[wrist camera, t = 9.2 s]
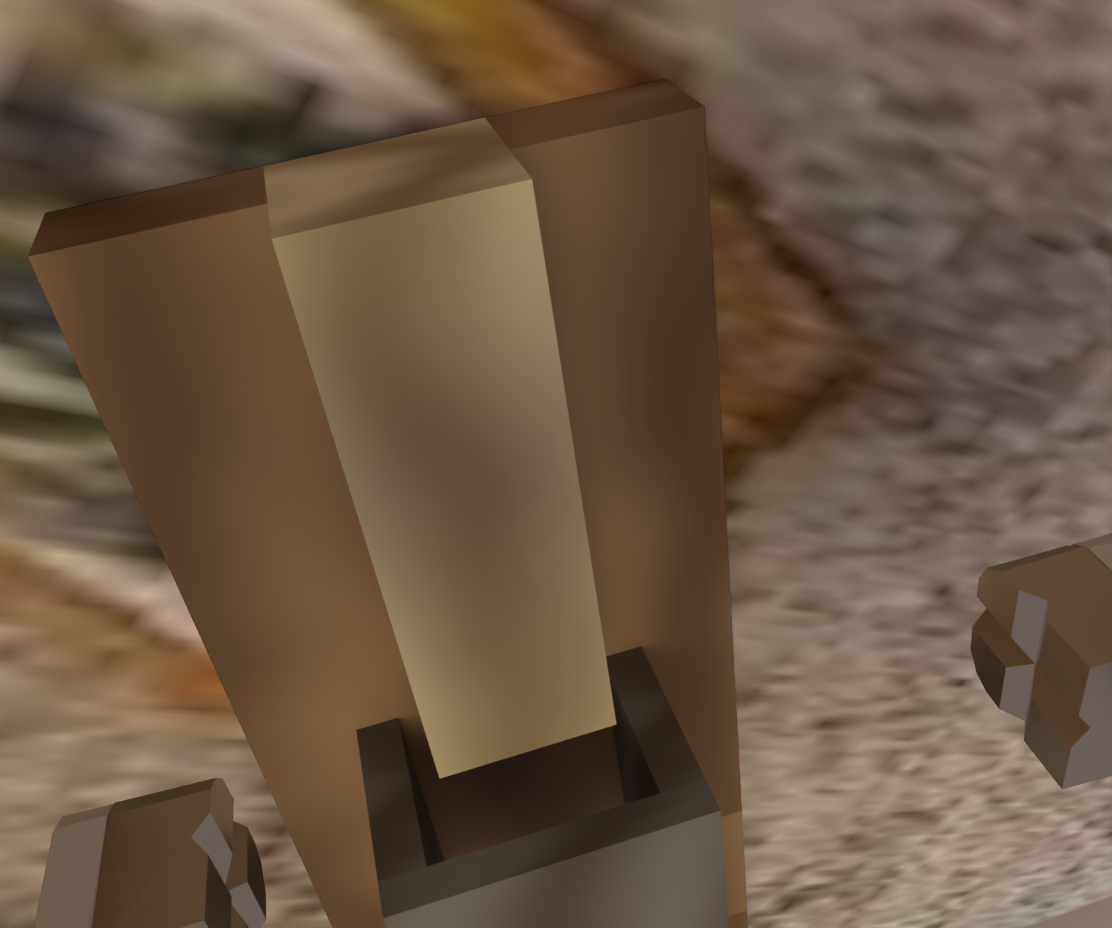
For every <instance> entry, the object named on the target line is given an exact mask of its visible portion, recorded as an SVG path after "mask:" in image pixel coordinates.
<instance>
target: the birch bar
mask: <svg viewBox="0 0 1112 928" xmlns="http://www.w3.org/2000/svg"><path fill="white" fill-rule="evenodd" d="M263 167H264V176H265V186H266V195H267V204H268V213H269V222H270V231H271V240H272V243H273V246H274V249H275V252H276V256H277V259H278V262H279V265H280V268H281V272H282V275H283V278H284V281H285V284H286V288H287V291H288V294H289V297H290V300H291V304H292V307H293V310H294V313H295V316H296V320H297V323H298V326H299V329H300V333H301V336H302V339H303V342H304V345H305V349H306V352H307V355H308V358H309V361H310V365H311V368H312V371H313V374H314V377H315V381H316V384H317V387H318V390H319V393H320V397H321V400H322V403H323V406H324V409H325V413H326V416H327V419H328V422H329V426H330V429H331V432H332V435H333V438H334V442H335V445H336V448H337V451H338V454H339V458H340V461H341V464H342V467H343V470H344V474H345V477H346V480H347V483H348V486H349V490H350V493H351V496H352V499H353V503H354V506H355V509H356V512H357V515H358V519H359V522H360V525H361V528H362V531H363V535H364V538H365V541H366V544H367V547H368V551H369V554H370V557H371V560H372V563H373V567H374V570H375V573H376V576H377V579H378V583H379V586H380V589H381V592H382V596H383V599H384V602H385V605H386V608H387V612H388V615H389V618H390V621H391V624H392V628H393V631H394V634H395V637H396V640H397V644H398V647H399V650H400V653H401V656H402V660H403V663H404V666H405V669H406V672H407V676H408V679H409V682H410V685H411V689H412V692H413V695H414V698H415V701H416V705H417V708H418V711H419V714H420V717H421V721H422V724H423V727H424V730H425V733H426V737H427V740H428V743H429V746H430V749H431V753H432V756H433V759H434V762H435V766H436V769H437V772H438V775H439V778H443V777H447V776H450V775H453V774H456V773H460V772H463V771H466V770H469V769H473V768H476V767H479V766H483V765H486V764H489V763H492V762H496V761H499V760H502V759H505V758H509V757H512V756H515V755H518V754H522V753H525V752H528V751H532V750H535V749H538V748H541V747H545V746H548V745H551V744H554V743H558V742H561V741H564V740H568V739H571V738H574V737H577V736H581V735H584V734H587V733H590V732H594V731H597V730H600V729H603V728H607V727H610V726H613V725H617V724H616V718H615V712H614V705H613V699H612V692H611V686H610V679H609V673H608V666H607V660H606V653H605V647H604V641H603V634H602V628H601V621H600V615H599V608H598V602H597V595H596V589H595V582H594V576H593V570H592V563H591V557H590V550H589V544H588V537H587V531H586V524H585V518H584V511H583V505H582V498H581V492H580V486H579V479H578V473H577V466H576V460H575V453H574V447H573V440H572V434H571V427H570V421H569V415H568V408H567V402H566V395H565V389H564V382H563V376H562V369H561V363H560V356H559V350H558V344H557V337H556V331H555V324H554V318H553V311H552V305H551V298H550V292H549V285H548V279H547V273H546V266H545V260H544V253H543V247H542V240H541V234H540V227H539V221H538V214H537V208H536V201H535V195H534V189H533V182H532V178H531V177H530V176H529V174H528V173H527V172H526V171H525V169H524V168H523V167H522V165H521V164H520V163H519V161H518V160H517V159H516V157H515V156H514V155H513V154H512V152H511V151H510V150H509V148H508V147H507V146H506V144H505V143H504V142H503V141H502V139H501V138H500V137H499V135H498V134H497V133H496V131H495V130H494V129H493V128H492V126H491V125H490V124H489V122H488V121H487V120H486V118H480V119H476V120H471V121H467V122H462V123H458V124H453V125H449V126H444V127H440V128H435V129H430V130H426V131H421V132H417V133H412V134H408V135H403V136H399V137H394V138H390V139H385V140H380V141H376V142H371V143H367V144H362V145H358V146H353V147H349V148H344V149H340V150H335V151H330V152H326V153H321V154H317V155H312V156H308V157H303V158H299V159H294V160H290V161H285V162H280V163H276V164H271V165H267V166H263Z"/></svg>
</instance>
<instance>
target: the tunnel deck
mask: <svg viewBox="0 0 1112 928" xmlns="http://www.w3.org/2000/svg"><path fill="white" fill-rule="evenodd" d="M486 120H487V121H488V122H489V124H490V125H491V126H492V128H493V129H494V130H495V131H496V133H497V134H498V135H499V137H500V138H501V139H502V141H503V142H504V143H505V144H506V146H507V147H508V148H509V150H510V151H511V152H512V154H513V155H514V156H515V157H516V159H517V160H518V161H519V163H520V164H521V165H522V167H523V168H524V169H525V171H526V172H527V173H528V174H529V176H530V177H531V178H532V182H533V189H534V195H535V201H536V208H537V214H538V221H539V227H540V234H541V240H542V247H543V253H544V260H545V266H546V273H547V279H548V285H549V292H550V298H551V305H552V311H553V318H554V324H555V331H556V337H557V344H558V350H559V356H560V363H561V369H562V376H563V382H564V389H565V395H566V402H567V408H568V415H569V421H570V427H571V434H572V440H573V447H574V453H575V460H576V466H577V473H578V479H579V486H580V492H581V498H582V505H583V511H584V518H585V524H586V531H587V537H588V544H589V550H590V557H591V563H592V570H593V576H594V582H595V589H596V595H597V602H598V608H599V615H600V621H601V628H602V634H603V641H604V647H605V653H606V660H607V666H608V673H609V679H610V686H611V692H612V699H613V705H614V712H615V718H616V724H617V725H613V726H610V727H607V728H603V729H600V730H597V731H594V732H590V733H587V734H584V735H581V736H577V737H574V738H571V739H568V740H564V741H561V742H558V743H554V744H551V745H548V746H545V747H541V748H538V749H535V750H532V751H528V752H525V753H522V754H518V755H515V756H512V757H509V758H505V759H502V760H499V761H496V762H492V763H489V764H486V765H483V766H479V767H476V768H473V769H469V770H466V771H463V772H460V773H456V774H453V775H450V776H447V777H443V778H439V775H438V772H437V769H436V766H435V762H434V759H433V756H432V753H431V749H430V746H429V743H428V740H427V737H426V733H425V730H424V727H423V724H422V721H421V717H420V714H419V711H418V708H417V705H416V701H415V698H414V695H413V692H412V689H411V685H410V682H409V679H408V676H407V672H406V669H405V666H404V663H403V660H402V656H401V653H400V650H399V647H398V644H397V640H396V637H395V634H394V631H393V628H392V624H391V621H390V618H389V615H388V612H387V608H386V605H385V602H384V599H383V596H382V592H381V589H380V586H379V583H378V579H377V576H376V573H375V570H374V567H373V563H372V560H371V557H370V554H369V551H368V547H367V544H366V541H365V538H364V535H363V531H362V528H361V525H360V522H359V519H358V515H357V512H356V509H355V506H354V503H353V499H352V496H351V493H350V490H349V486H348V483H347V480H346V477H345V474H344V470H343V467H342V464H341V461H340V458H339V454H338V451H337V448H336V445H335V442H334V438H333V435H332V432H331V429H330V426H329V422H328V419H327V416H326V413H325V409H324V406H323V403H322V400H321V397H320V393H319V390H318V387H317V384H316V381H315V377H314V374H313V371H312V368H311V365H310V361H309V358H308V355H307V352H306V349H305V345H304V342H303V339H302V336H301V333H300V329H299V326H298V323H297V320H296V316H295V313H294V310H293V307H292V304H291V300H290V297H289V294H288V291H287V288H286V284H285V281H284V278H283V275H282V272H281V268H280V265H279V262H278V259H277V256H276V252H275V249H274V246H273V243H272V240H271V231H270V222H269V213H268V204H267V195H266V186H265V176H264V167H263V166H261V167H257V168H252V169H248V170H243V171H238V172H234V173H229V174H224V175H220V176H215V177H211V178H206V179H201V180H197V181H192V182H188V183H183V184H178V185H174V186H169V187H164V188H160V189H155V190H151V191H146V192H141V193H137V194H132V195H128V196H123V197H118V198H114V199H109V200H105V201H100V202H95V203H91V204H86V205H81V206H77V207H72V208H68V209H63V210H58V211H54V212H49V213H45V215H44V218H43V220H42V223H41V225H40V228H39V230H38V233H37V235H36V238H35V240H34V243H33V245H32V248H31V250H30V253H29V255H28V258H29V260H30V263H31V265H32V267H33V269H34V271H35V274H36V276H37V278H38V280H39V282H40V285H41V287H42V289H43V291H44V293H45V296H46V298H47V300H48V302H49V304H50V307H51V309H52V311H53V313H54V315H55V318H56V320H57V322H58V324H59V326H60V329H61V331H62V333H63V335H64V337H65V340H66V342H67V344H68V346H69V348H70V351H71V353H72V355H73V357H74V359H75V362H76V364H77V366H78V368H79V370H80V373H81V375H82V377H83V379H84V381H85V384H86V386H87V388H88V390H89V392H90V395H91V397H92V399H93V401H94V403H95V406H96V408H97V410H98V412H99V414H100V417H101V419H102V421H103V423H104V425H105V428H106V430H107V432H108V434H109V436H110V439H111V441H112V443H113V445H114V448H115V450H116V452H117V454H118V456H119V459H120V461H121V463H122V465H123V467H124V470H125V472H126V474H127V476H128V478H129V481H130V483H131V485H132V487H133V489H134V492H135V494H136V496H137V498H138V500H139V503H140V505H141V507H142V509H143V511H144V514H145V516H146V518H147V520H148V522H149V525H150V527H151V529H152V531H153V533H154V536H155V538H156V540H157V542H158V544H159V547H160V549H161V551H162V553H163V555H164V558H165V560H166V562H167V564H168V566H169V569H170V571H171V573H172V575H173V577H174V580H175V582H176V584H177V586H178V588H179V591H180V593H181V595H182V597H183V599H184V602H185V604H186V606H187V608H188V610H189V613H190V615H191V617H192V619H193V621H194V624H195V626H196V628H197V630H198V632H199V635H200V637H201V639H202V641H203V643H204V646H205V648H206V650H207V652H208V654H209V657H210V659H211V661H212V663H213V665H214V668H215V670H216V672H217V674H218V676H219V679H220V681H221V683H222V685H223V687H224V690H225V692H226V694H227V696H228V698H229V701H230V703H231V705H232V707H233V709H234V712H235V714H236V716H237V718H238V720H239V723H240V725H241V727H242V729H243V731H244V734H245V736H246V738H247V740H248V742H249V745H250V747H251V749H252V751H253V753H254V756H255V758H256V760H257V762H258V764H259V767H260V769H261V771H262V773H263V776H264V778H265V780H266V782H267V784H268V787H269V789H270V791H271V793H272V795H273V798H274V800H275V802H276V804H277V806H278V809H279V811H280V813H281V815H282V817H283V820H284V822H285V824H286V826H287V828H288V831H289V833H290V835H291V837H292V839H293V842H294V844H295V846H296V848H297V850H298V853H299V855H300V857H301V859H302V861H303V864H304V866H305V868H306V870H307V872H308V875H309V877H310V879H311V881H312V883H313V886H314V888H315V890H316V892H317V894H318V897H319V899H320V901H321V903H322V905H323V908H324V910H325V912H326V914H327V916H328V919H329V921H330V923H331V925H332V927H333V928H748V919H747V901H746V882H745V863H744V844H743V825H742V806H741V787H740V768H739V749H738V730H737V711H736V692H735V673H734V654H733V636H732V617H731V598H730V579H729V560H728V541H727V522H726V503H725V484H724V465H723V446H722V427H721V408H720V389H719V370H718V352H717V333H716V314H715V295H714V276H713V257H712V238H711V219H710V200H709V181H708V162H707V143H706V124H705V107H704V106H703V105H701V104H700V103H699V102H697V101H696V100H694V99H693V98H691V97H690V96H688V95H687V94H685V93H684V92H683V91H681V90H680V89H678V88H677V87H675V86H674V85H672V84H671V83H670V82H668V81H667V80H665V79H663V80H658V81H653V82H649V83H644V84H640V85H635V86H630V87H626V88H621V89H616V90H612V91H607V92H603V93H598V94H593V95H589V96H584V97H580V98H575V99H570V100H566V101H561V102H557V103H552V104H547V105H543V106H538V107H533V108H529V109H524V110H520V111H515V112H510V113H506V114H501V115H497V116H492V117H487V118H486ZM307 157H308V156H307ZM298 159H299V158H298ZM289 161H290V160H289ZM284 162H285V161H284ZM275 164H276V163H275ZM266 166H267V165H266Z"/></svg>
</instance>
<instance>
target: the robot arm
mask: <svg viewBox="0 0 1112 928" xmlns="http://www.w3.org/2000/svg"><path fill="white" fill-rule="evenodd" d="M977 597H978V598H979V599H980V601H981V602H982V603H983V604H984V605H985V607H986V608H987V609H986V610H985V611H984V613H983V614H982V615H981V616H980V618H979V619H978V620H977V621H976V623H975V624H974V625H973V627H972V639H971V652H972V656H973V660H974V664H975V668H976V672H977V674H978V676H979V678H980V680H981V682H982V684H983V686H984V688H985V690H986V692H987V693H988V694H989V696H990V697H991V698H992V700H993V701H994V702H995V704H996V705H997V706H998V708H999V709H1001V710H1003V711H1005V712H1007V713H1009V714H1012V715H1014V716H1016V717H1018V718H1020V719H1022V720H1024V721H1025V730H1024V741H1025V743H1026V744H1027V745H1028V746H1029V748H1030V749H1031V750H1032V751H1033V753H1034V754H1035V755H1036V757H1037V758H1038V759H1039V760H1040V762H1041V763H1042V764H1043V765H1044V767H1045V768H1046V769H1047V771H1048V772H1049V773H1050V774H1051V776H1052V777H1053V778H1054V779H1055V781H1056V782H1057V783H1058V785H1059V786H1060V787H1061V788H1062V789H1065V788H1068V787H1072V786H1076V785H1080V784H1083V783H1087V782H1091V781H1094V780H1098V779H1102V778H1106V777H1109V776H1112V533H1111V534H1108V535H1104V536H1100V537H1097V538H1093V539H1090V540H1086V541H1082V542H1079V543H1075V544H1073V545H1071V546H1063V547H1059V548H1056V549H1052V550H1049V551H1045V552H1042V553H1038V554H1035V555H1031V556H1028V557H1024V558H1021V559H1017V560H1014V561H1010V562H1007V563H1003V564H999V565H996V566H992V567H989V568H986V570H985V571H984V572H983V574H982V575H981V577H980V578H979V584H978V591H977ZM233 803H234V799H233V797H232V795H231V794H230V792H229V790H228V788H227V786H226V785H225V783H224V781H223V779H220V778H214V779H210V780H206V781H202V782H198V783H194V784H190V785H185V786H181V787H177V788H173V789H169V790H165V791H161V792H157V793H153V794H149V795H145V796H141V797H136V798H132V799H128V800H124V801H120V802H116V803H114V804H111V805H107V806H103V807H99V808H95V809H91V810H87V811H83V812H79V813H75V814H71V815H67V816H63V817H62V818H61V820H60V821H59V823H58V825H57V827H56V828H55V830H54V832H53V834H52V839H51V844H50V849H49V854H48V859H47V864H46V869H45V875H44V880H43V885H42V890H41V895H40V900H39V905H38V911H37V916H36V921H35V926H34V928H261V927H262V925H263V924H264V922H265V920H266V892H265V885H264V879H263V872H262V866H261V861H260V858H259V855H258V852H257V848H256V845H255V842H254V840H253V838H252V836H251V834H250V832H249V829H248V827H246V826H244V825H242V824H239V823H237V822H235V821H233Z"/></svg>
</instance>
